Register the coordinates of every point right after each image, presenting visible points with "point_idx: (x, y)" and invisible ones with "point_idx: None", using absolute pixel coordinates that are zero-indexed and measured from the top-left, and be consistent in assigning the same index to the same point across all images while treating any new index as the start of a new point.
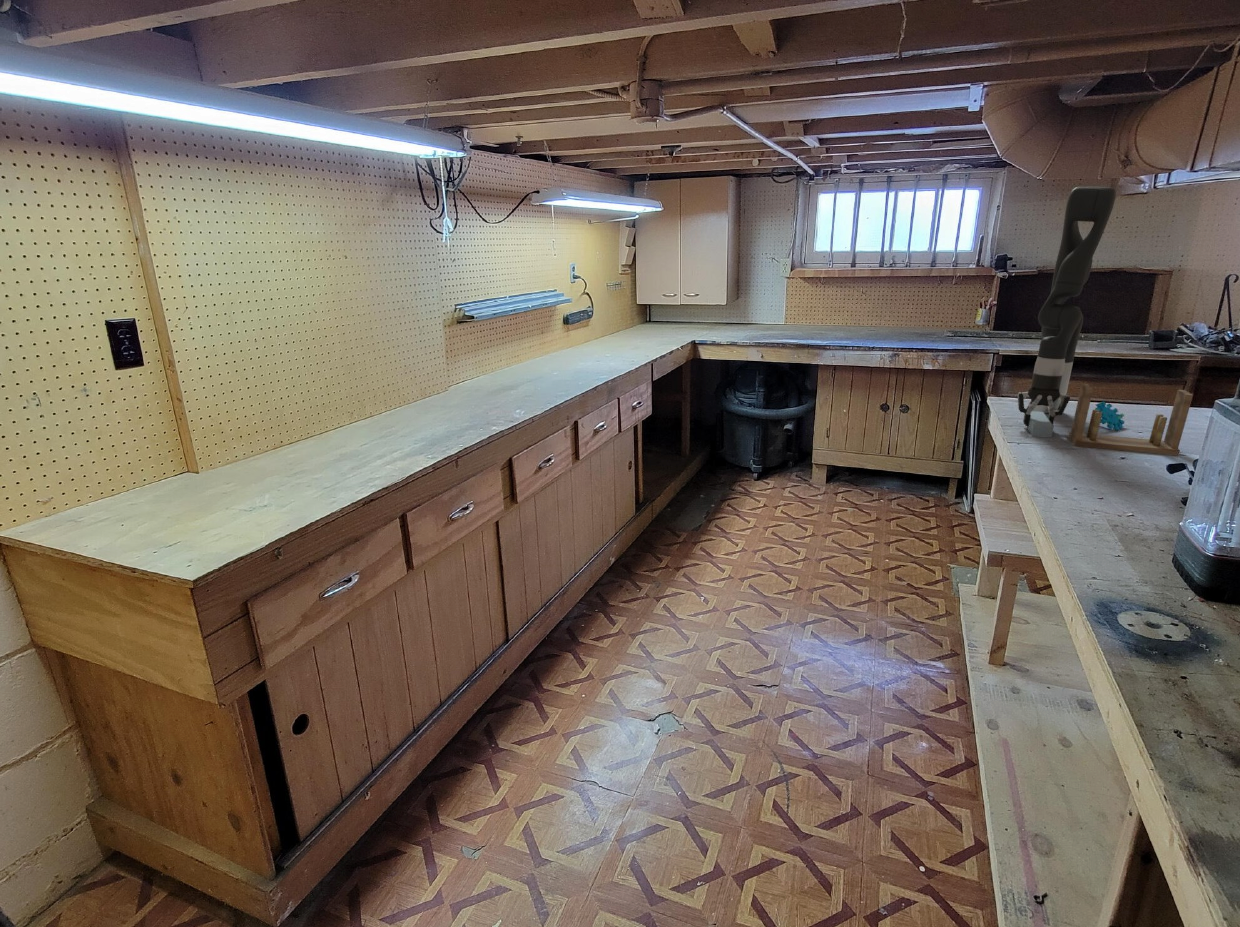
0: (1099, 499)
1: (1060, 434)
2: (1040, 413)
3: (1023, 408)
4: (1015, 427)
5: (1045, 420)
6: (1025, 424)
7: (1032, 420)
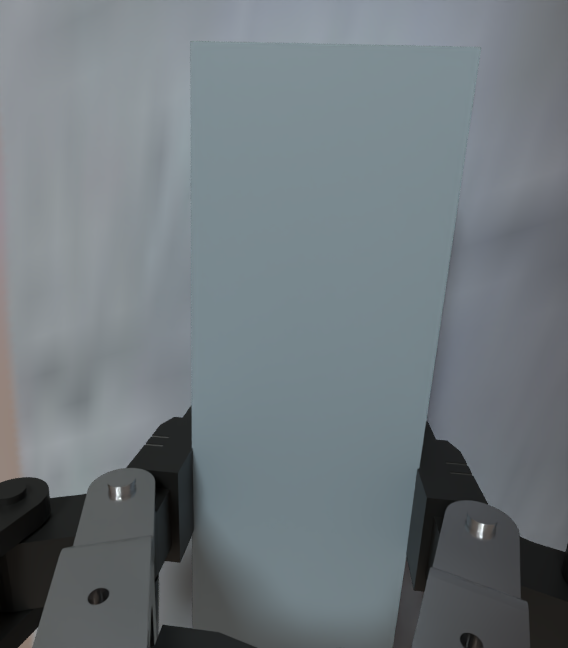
0: None
1: None
2: (397, 198)
3: (16, 636)
4: (122, 424)
5: (353, 590)
6: None
7: (202, 617)
